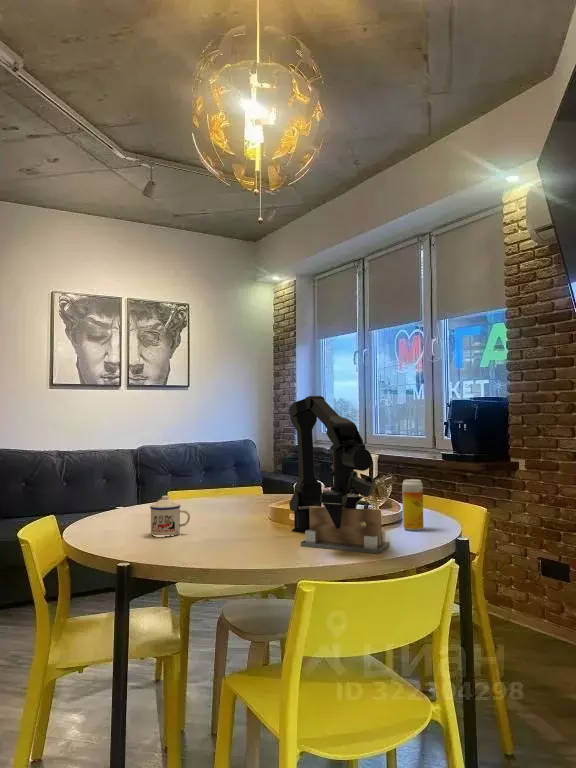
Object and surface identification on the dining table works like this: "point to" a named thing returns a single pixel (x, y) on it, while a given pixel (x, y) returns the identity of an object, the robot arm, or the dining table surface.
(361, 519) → the walnut door
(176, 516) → the teacup with lid
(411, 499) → the beer can
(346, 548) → the rail
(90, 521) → the dining table surface
